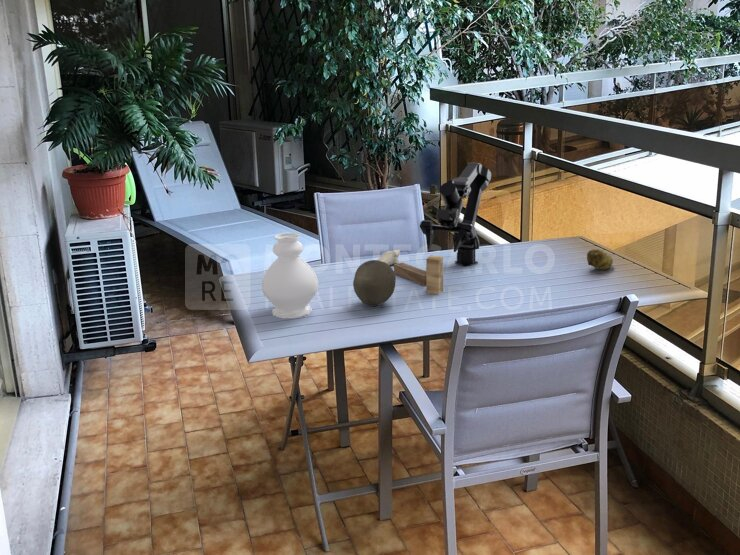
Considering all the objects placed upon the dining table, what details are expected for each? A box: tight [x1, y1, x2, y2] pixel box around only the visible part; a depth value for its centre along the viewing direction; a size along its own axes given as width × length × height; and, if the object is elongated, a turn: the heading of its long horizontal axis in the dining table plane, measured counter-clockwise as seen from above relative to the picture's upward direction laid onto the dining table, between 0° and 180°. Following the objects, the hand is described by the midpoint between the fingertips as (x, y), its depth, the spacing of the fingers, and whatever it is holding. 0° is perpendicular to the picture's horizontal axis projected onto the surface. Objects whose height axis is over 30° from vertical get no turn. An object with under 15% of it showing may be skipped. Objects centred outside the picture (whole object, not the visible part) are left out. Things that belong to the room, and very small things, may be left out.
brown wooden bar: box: [393, 262, 426, 286], centre depth 265 cm, size 4×18×4 cm, turn 34°
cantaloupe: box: [352, 259, 397, 307], centre depth 237 cm, size 14×14×15 cm
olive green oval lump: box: [586, 248, 614, 270], centre depth 269 cm, size 8×13×8 cm, turn 117°
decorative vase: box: [261, 232, 319, 320], centre depth 232 cm, size 18×18×25 cm
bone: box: [377, 249, 401, 266], centre depth 278 cm, size 8×21×6 cm, turn 152°
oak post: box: [425, 254, 444, 295], centre depth 250 cm, size 4×4×12 cm
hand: (441, 250), depth 253 cm, fingers open, 9 cm apart
